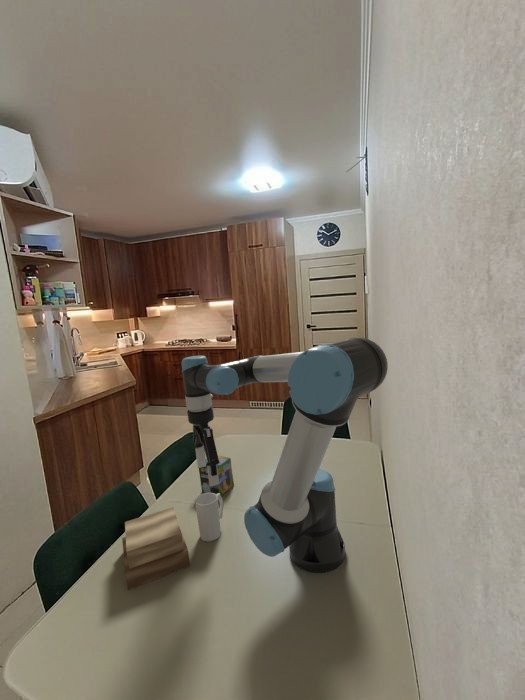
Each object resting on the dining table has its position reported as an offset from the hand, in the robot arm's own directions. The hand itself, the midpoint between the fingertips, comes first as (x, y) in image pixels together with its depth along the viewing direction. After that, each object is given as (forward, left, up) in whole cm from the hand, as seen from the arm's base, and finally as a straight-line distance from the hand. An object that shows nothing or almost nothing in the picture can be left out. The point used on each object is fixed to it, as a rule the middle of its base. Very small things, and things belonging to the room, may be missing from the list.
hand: (207, 475), depth 106 cm
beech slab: (-2, +18, -14) cm, 23 cm away
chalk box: (+24, -9, -19) cm, 32 cm away
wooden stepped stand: (-2, +18, -19) cm, 26 cm away
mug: (0, 0, -19) cm, 19 cm away
